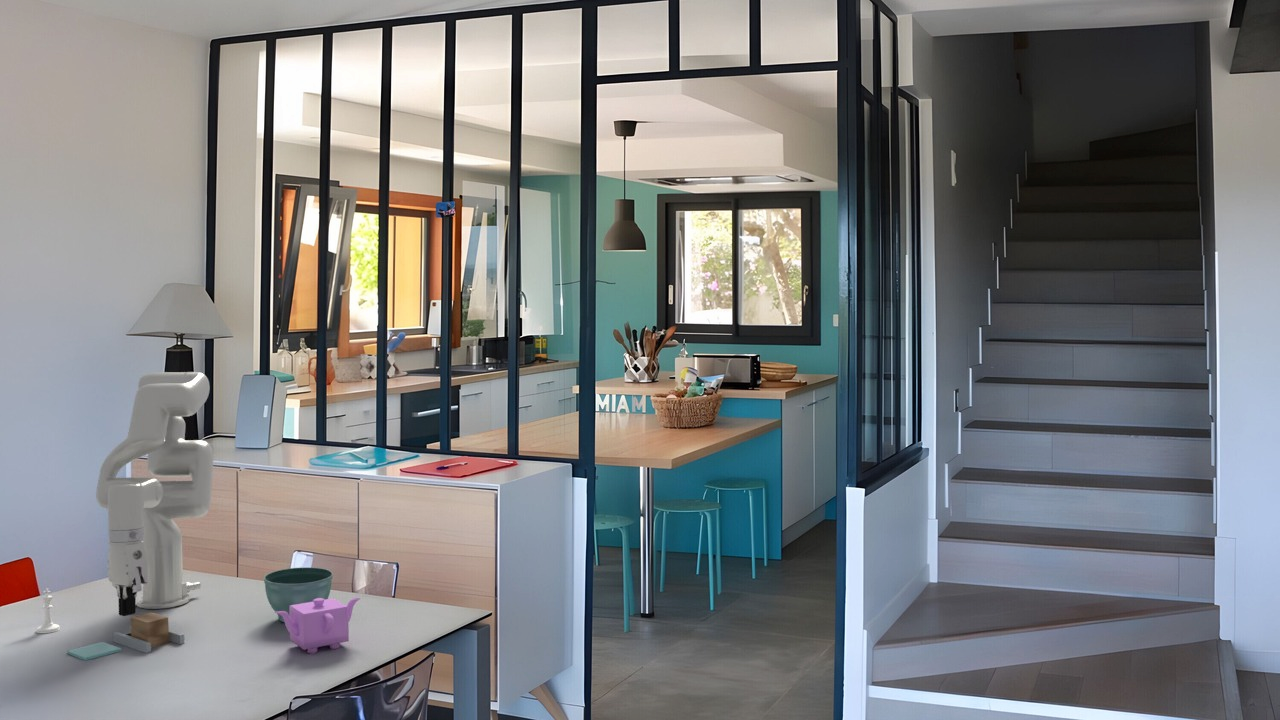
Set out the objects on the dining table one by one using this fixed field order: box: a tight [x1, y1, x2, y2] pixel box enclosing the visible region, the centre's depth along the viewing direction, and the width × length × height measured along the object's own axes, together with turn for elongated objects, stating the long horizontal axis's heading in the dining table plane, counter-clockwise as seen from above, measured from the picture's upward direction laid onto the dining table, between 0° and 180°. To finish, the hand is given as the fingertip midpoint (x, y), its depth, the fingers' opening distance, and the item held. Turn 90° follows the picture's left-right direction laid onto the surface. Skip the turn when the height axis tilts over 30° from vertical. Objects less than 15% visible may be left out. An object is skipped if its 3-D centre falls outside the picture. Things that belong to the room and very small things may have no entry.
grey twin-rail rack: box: [112, 628, 185, 654], centre depth 247 cm, size 9×14×2 cm, turn 54°
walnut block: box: [130, 611, 170, 649], centre depth 247 cm, size 5×7×6 cm
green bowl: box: [263, 566, 334, 623], centre depth 266 cm, size 16×16×11 cm
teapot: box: [274, 597, 362, 654], centre depth 244 cm, size 15×13×11 cm
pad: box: [66, 641, 122, 661], centre depth 240 cm, size 8×8×1 cm
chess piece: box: [36, 588, 61, 634], centre depth 256 cm, size 5×5×10 cm
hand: (127, 614), depth 251 cm, fingers closed
